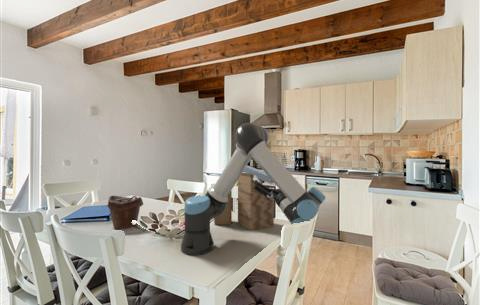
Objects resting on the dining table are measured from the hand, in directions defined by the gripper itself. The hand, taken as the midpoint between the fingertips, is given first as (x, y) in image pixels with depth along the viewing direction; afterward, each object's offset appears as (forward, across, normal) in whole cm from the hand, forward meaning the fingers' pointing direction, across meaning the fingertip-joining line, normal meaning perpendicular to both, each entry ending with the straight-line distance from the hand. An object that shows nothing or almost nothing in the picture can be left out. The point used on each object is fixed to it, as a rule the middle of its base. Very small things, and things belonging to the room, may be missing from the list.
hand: (264, 176), depth 135 cm
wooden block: (+8, -13, -41) cm, 44 cm away
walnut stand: (-2, +3, -35) cm, 35 cm away
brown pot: (+27, -67, -52) cm, 89 cm away
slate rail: (+8, 0, -5) cm, 10 cm away
